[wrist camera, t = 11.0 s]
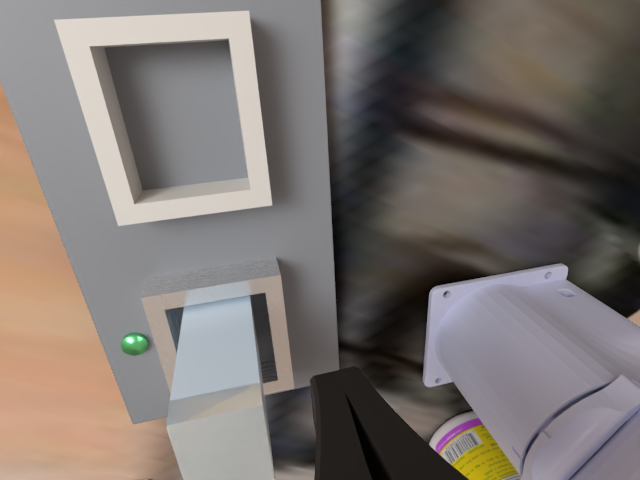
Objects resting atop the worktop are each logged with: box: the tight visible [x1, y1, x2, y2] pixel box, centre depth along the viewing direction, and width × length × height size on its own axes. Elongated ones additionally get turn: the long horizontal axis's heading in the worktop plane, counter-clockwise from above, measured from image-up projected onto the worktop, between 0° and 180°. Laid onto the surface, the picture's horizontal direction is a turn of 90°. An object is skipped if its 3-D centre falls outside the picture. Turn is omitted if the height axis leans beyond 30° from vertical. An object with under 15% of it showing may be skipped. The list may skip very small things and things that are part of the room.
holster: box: [54, 11, 272, 226], centre depth 15 cm, size 6×7×2 cm
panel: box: [0, 0, 339, 424], centre depth 19 cm, size 12×21×1 cm, turn 3°
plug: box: [166, 295, 275, 480], centre depth 17 cm, size 3×4×8 cm
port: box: [121, 257, 294, 395], centre depth 20 cm, size 8×7×2 cm
